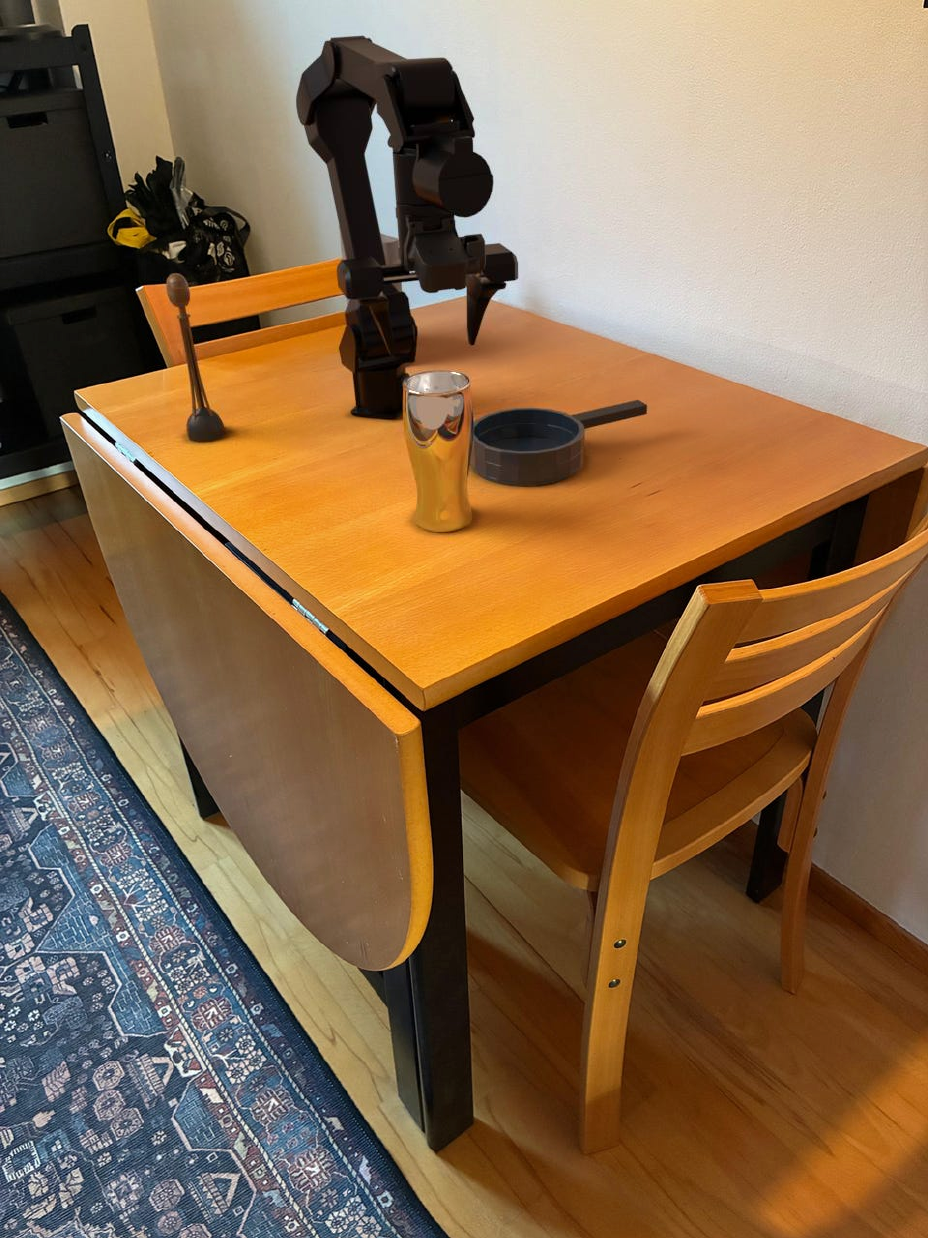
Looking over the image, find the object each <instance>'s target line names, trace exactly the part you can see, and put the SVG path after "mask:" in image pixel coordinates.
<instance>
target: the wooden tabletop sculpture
mask: <svg viewBox="0 0 928 1238" xmlns="http://www.w3.org/2000/svg"><path fill="white" fill-rule="evenodd" d="M165 287H166V294H167V297H168V299H169V301H170V303H171V304H172V305H173V307H175V308H177V309H178V313H179V314H178V315H176V318H177V319H178V324H179V329H180V334H181V338H182V343H183V350H184V354H185V359H186V364H187V371H188V377H189V378H188V379H189V385H190V394H191V408H192V410H191V411H192V412H191V414H190V415H189V417H188V418H187V421H186V425H185V427H186V435H187V438H188V440H189V441H191V442H196V443H206V442H207V443H208V442H213V441H216V440H219V439H222V438H223V437H224V436H225V435H227V431H226V426H225V423H224V422H223V420H222V418H221V416H220V415H219V414H218V412H216V411H214V410H213V409H211V407H210V403H209V400H208V398H207V395H206V391H205V388H204V384H203V380H202V375H201V372H200V371H201V370H200V368H199V363H198V358H197V357H198V356H197V353H196V348H195V342H194V339H193V333H192V327H191V322H190V317H191V314H190V313H187V308H186V307H188V305H189V304H190V301H191V291H190V288H189V287H190V286H189V283H188V281H187V279H186V278H185V277H184V276H183V275H182V274H181V273H177V272H175V273H170V274H169V276H168V277H167V278H166V284H165Z"/></svg>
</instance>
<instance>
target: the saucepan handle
mask: <svg viewBox="0 0 928 1238" xmlns="http://www.w3.org/2000/svg"><path fill="white" fill-rule="evenodd" d="M647 412H648V404H646V403H644V402H643V401H641V400H639V399H635V400H631V401H626V402H622V403H618V404H613V405H609V406H604V407H599V408H596V409H592V410H588V411H583V412H578V413H575V414H570V415H571V416H572V417H574V418H577V420H579V421H580V422H581V423H582V424H583V426H584V430H587V429H591V428H595V427H599V426H603V425H608V424H611V423H616V422H620V421H624V420H628V419H632V418H637V417H640V416H645V415H647V414H648V413H647Z"/></svg>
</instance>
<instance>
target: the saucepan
mask: <svg viewBox="0 0 928 1238" xmlns="http://www.w3.org/2000/svg"><path fill="white" fill-rule="evenodd" d="M571 415H572V414H569V413H567V412H564V411H559V410H555V409H551V408H544V407H543V408H542V407H540V408H539V407H513V408H507V409H501V410H497V411H493V412H491V413H487V414H485V415H483V416H481V417H479V418H477V419H475V420H474V433H473V444H472V452H471V459H470V465H469V466H470V468H471V469H472V471H473V473H475V474H476V475H478V476H479V477H481V478H483V479H484V480H487V481H489V482H492V483H496V484H501V485H506V486H514V487H537V486H545V485H550V484H554V483H559V482H562V481H564V480H567V479H569V478H571V477H573V476H574V475H576V474H577V473H578V472H580V470H581V469H582V467H583V465H584V460H585V439H586V438H585V436H586V434H585V433H586V429H584V426H583V424H582V423H581V422H580V421H579V420H577V418H574V417H572V416H571Z"/></svg>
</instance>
